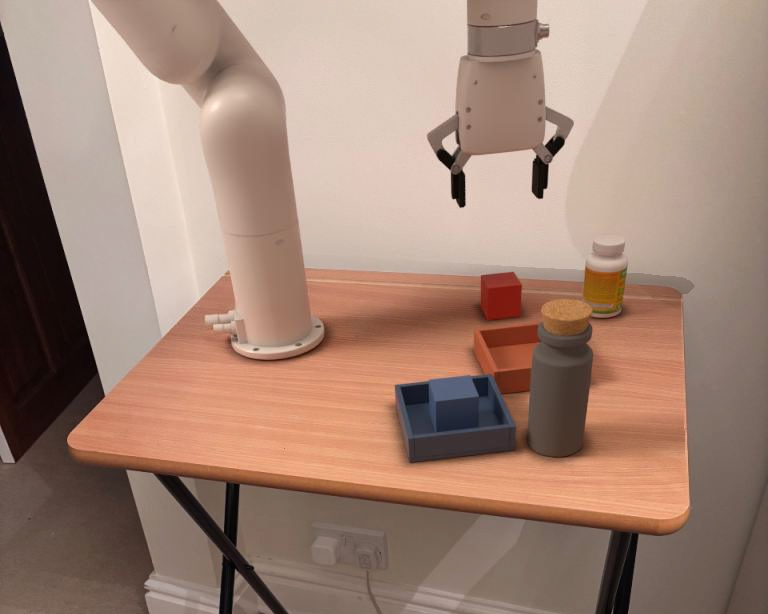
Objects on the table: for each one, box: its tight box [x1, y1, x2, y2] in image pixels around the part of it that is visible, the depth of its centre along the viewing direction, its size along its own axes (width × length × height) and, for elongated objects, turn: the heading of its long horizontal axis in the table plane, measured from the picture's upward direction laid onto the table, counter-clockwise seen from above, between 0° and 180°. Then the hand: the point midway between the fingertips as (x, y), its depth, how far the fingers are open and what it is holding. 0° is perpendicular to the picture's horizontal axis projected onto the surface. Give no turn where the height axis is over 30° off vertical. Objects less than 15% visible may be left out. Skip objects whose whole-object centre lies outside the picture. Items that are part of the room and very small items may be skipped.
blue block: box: [428, 374, 479, 433], centre depth 84 cm, size 5×5×5 cm
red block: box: [479, 271, 523, 321], centre depth 106 cm, size 5×5×5 cm
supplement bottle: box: [580, 233, 629, 319], centre depth 103 cm, size 5×5×10 cm
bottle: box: [526, 298, 594, 458], centre depth 77 cm, size 6×6×15 cm
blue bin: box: [394, 374, 517, 463], centre depth 85 cm, size 11×11×3 cm
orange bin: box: [473, 321, 542, 395], centre depth 94 cm, size 11×11×3 cm
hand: (498, 200), depth 96 cm, fingers open, 9 cm apart
